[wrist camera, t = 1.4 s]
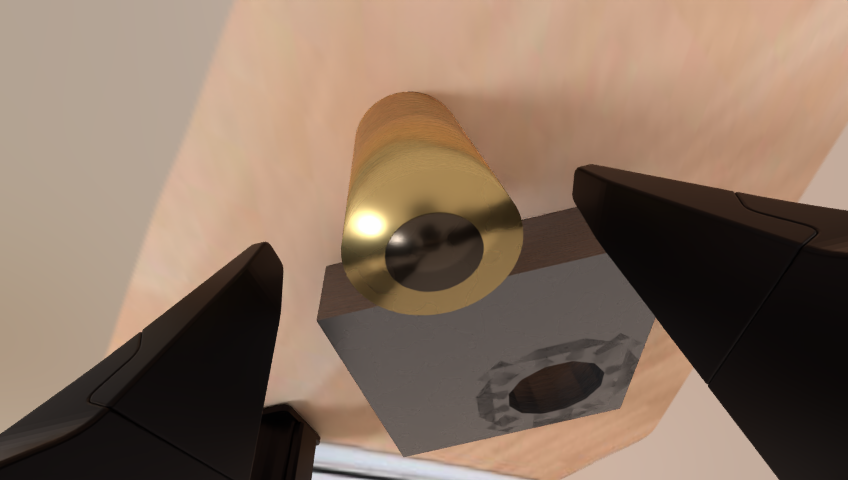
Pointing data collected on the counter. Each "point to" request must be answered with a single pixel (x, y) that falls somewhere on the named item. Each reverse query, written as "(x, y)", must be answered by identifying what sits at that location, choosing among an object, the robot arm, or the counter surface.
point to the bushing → (424, 212)
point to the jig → (497, 344)
